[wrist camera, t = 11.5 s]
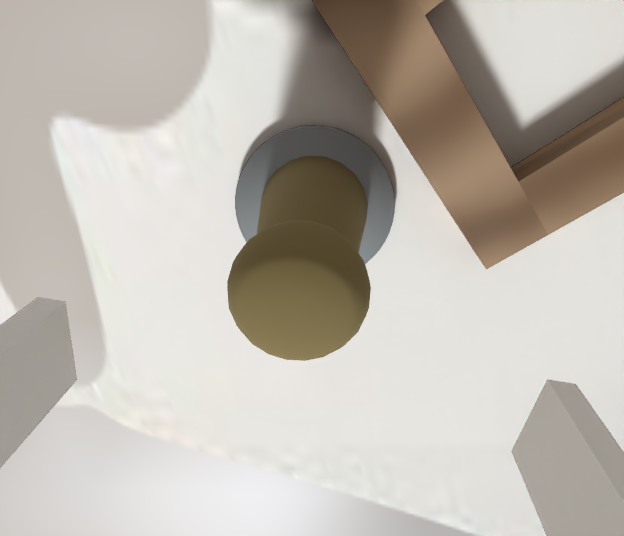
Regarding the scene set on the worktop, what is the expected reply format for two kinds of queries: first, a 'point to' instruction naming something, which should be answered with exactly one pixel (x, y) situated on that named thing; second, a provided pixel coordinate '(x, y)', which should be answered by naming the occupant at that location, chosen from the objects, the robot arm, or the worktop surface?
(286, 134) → the coaster
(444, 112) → the collar board
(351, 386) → the worktop surface
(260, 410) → the worktop surface
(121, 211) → the worktop surface
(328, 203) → the cork
